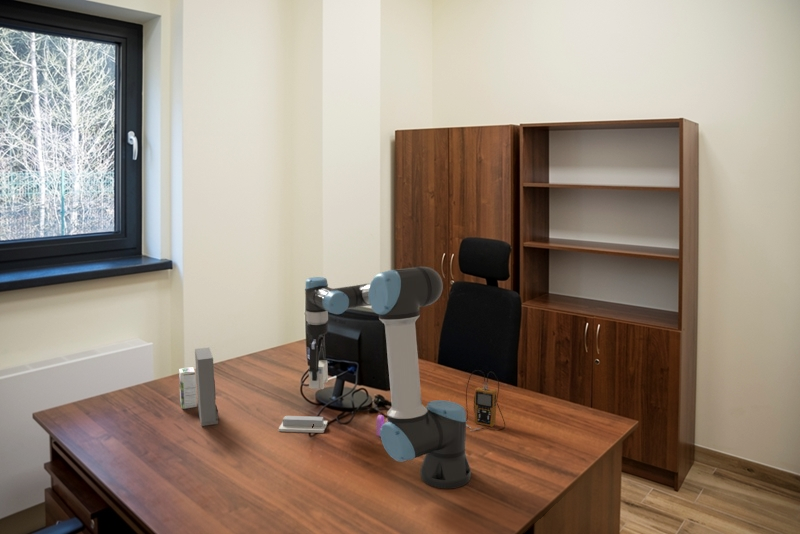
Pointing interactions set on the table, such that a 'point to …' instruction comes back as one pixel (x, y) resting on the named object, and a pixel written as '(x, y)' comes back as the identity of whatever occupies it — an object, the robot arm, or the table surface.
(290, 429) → the rail base
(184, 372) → the syrup box
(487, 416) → the multimeter
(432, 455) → the robot arm
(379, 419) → the bracket
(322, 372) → the module
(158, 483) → the table surface
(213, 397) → the tall grey upright slab
